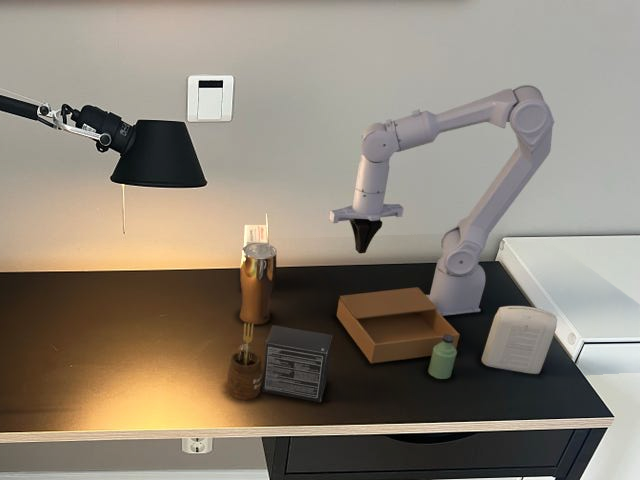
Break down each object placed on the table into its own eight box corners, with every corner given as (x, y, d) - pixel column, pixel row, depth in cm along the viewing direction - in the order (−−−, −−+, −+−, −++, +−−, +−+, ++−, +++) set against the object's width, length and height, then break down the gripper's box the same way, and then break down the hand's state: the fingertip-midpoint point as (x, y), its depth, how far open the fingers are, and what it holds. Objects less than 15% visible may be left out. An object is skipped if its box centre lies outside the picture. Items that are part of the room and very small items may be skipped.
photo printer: (539, 364, 139) (559, 306, 131) (542, 377, 135) (562, 319, 128) (480, 354, 141) (497, 298, 134) (481, 367, 138) (498, 310, 131)
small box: (327, 382, 135) (334, 333, 129) (321, 404, 130) (328, 354, 124) (268, 371, 138) (273, 322, 131) (260, 392, 133) (265, 342, 126)
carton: (336, 317, 152) (339, 298, 150) (413, 308, 155) (417, 289, 152) (370, 364, 139) (374, 345, 136) (454, 354, 141) (459, 334, 139)
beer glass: (271, 308, 155) (277, 243, 147) (272, 326, 150) (278, 259, 141) (237, 307, 156) (241, 241, 147) (237, 325, 150) (241, 258, 142)
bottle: (443, 366, 138) (453, 329, 134) (454, 378, 135) (464, 342, 131) (423, 368, 138) (432, 332, 133) (434, 381, 135) (443, 344, 130)
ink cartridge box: (241, 272, 168) (245, 210, 160) (263, 272, 168) (268, 211, 160) (242, 291, 161) (246, 228, 153) (265, 291, 161) (270, 228, 153)
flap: (339, 297, 150) (339, 295, 149) (417, 288, 152) (417, 287, 152) (356, 319, 143) (356, 317, 143) (437, 309, 146) (437, 308, 145)
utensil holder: (225, 399, 131) (228, 342, 124) (228, 378, 136) (231, 322, 129) (259, 402, 130) (264, 345, 123) (261, 381, 135) (266, 324, 128)
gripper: (343, 199, 141) (334, 263, 149) (415, 192, 144) (402, 256, 151) (329, 185, 147) (321, 247, 155) (398, 178, 149) (387, 241, 157)
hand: (360, 251), depth 153 cm, fingers closed
